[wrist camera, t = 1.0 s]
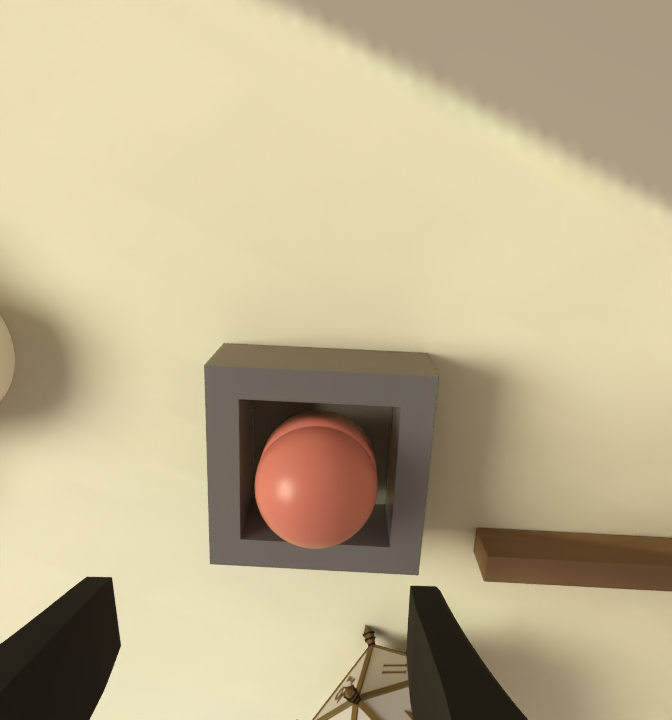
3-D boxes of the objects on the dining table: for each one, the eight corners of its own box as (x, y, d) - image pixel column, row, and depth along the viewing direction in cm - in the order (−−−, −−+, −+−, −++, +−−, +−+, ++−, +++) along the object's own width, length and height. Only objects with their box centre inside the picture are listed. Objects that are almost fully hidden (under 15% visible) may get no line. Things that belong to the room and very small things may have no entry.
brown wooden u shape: (711, 813, 28) (737, 857, 27) (440, 796, 29) (446, 839, 27) (801, 544, 24) (840, 575, 22) (476, 527, 24) (487, 556, 22)
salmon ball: (371, 507, 22) (376, 580, 18) (264, 502, 22) (244, 573, 18) (378, 407, 21) (384, 460, 17) (265, 402, 21) (243, 453, 17)
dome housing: (410, 530, 24) (418, 575, 21) (226, 520, 24) (210, 564, 21) (426, 353, 22) (438, 376, 19) (223, 343, 22) (204, 365, 19)
